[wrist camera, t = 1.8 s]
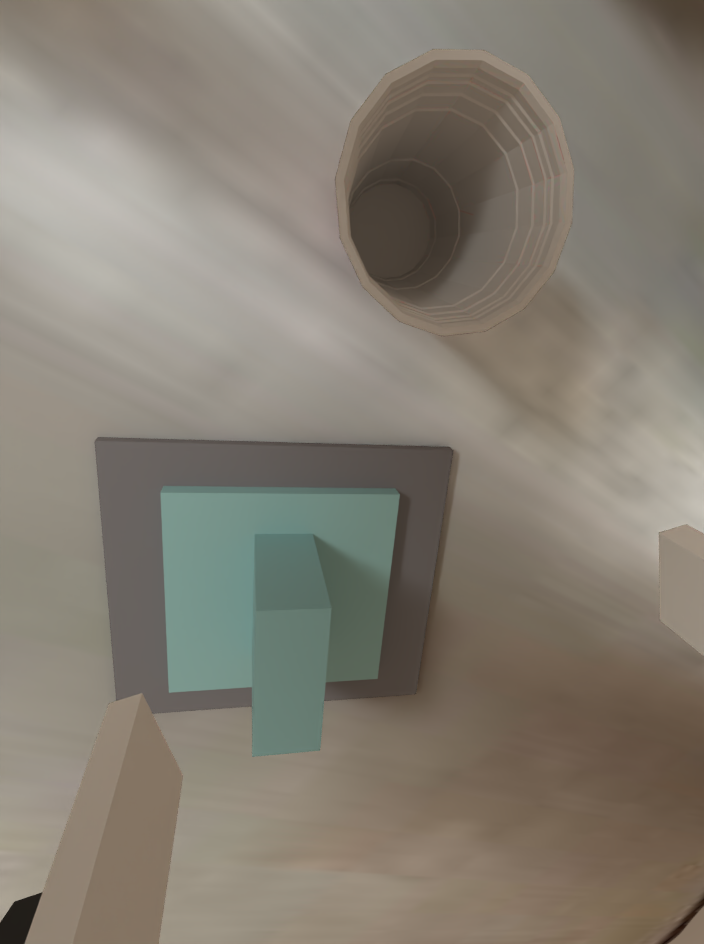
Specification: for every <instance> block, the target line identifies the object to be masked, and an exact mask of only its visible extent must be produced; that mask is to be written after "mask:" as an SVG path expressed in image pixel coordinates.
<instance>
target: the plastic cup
mask: <svg viewBox="0 0 704 944" xmlns="http://www.w3.org/2000/svg"><path fill="white" fill-rule="evenodd" d="M335 185H336V197H337V209H338V221H339V232H340V239H341V241H342V244H343V246H344V248H345V250H346V252H347V254H348V257H349V259H350V261H351V263H352V265H353V267H354V269H355V272H356V274H357V276H358V278H359V280H360V282H361V285H362V287H363V288H364V289H365V290H366V291H367V292H368V293H369V294H370V295H371V296H372V297H373V298H375V299H376V300H377V301H378V302H379V303H380V304H381V305H382V306H383V307H384V308H385V309H386V310H387V311H388V312H389V313H390V314H392V315H393V316H394V317H395V318H396V319H397V320H398V321H399V322H402V323H405V324H408V325H411V326H413V327H416V328H419V329H422V330H425V331H428V332H431V333H434V334H437V335H439V336H449V335H458V334H467V333H476V332H485V331H487V330H489V329H490V328H492V327H494V326H495V325H497V324H499V323H501V322H502V321H504V320H506V319H508V318H509V317H511V316H513V315H515V314H516V313H518V312H520V311H521V310H523V309H524V308H525V307H526V306H527V305H528V303H529V302H530V301H531V300H532V298H533V297H534V296H535V295H536V293H537V292H538V291H539V290H540V289H541V287H542V286H543V285H544V284H545V282H546V281H547V280H548V279H549V277H550V276H551V275H552V274H553V272H554V271H555V268H556V265H557V262H558V260H559V257H560V254H561V252H562V249H563V246H564V243H565V241H566V238H567V235H568V233H569V230H570V227H571V224H572V208H573V186H574V167H573V164H572V160H571V157H570V153H569V150H568V146H567V142H566V139H565V135H564V132H563V128H562V125H561V121H560V118H559V116H558V115H557V113H556V112H555V111H554V109H553V108H552V107H551V105H550V104H549V103H548V101H547V100H546V98H545V97H544V96H543V94H542V93H541V92H540V90H539V89H538V88H537V86H536V85H535V83H534V82H533V81H532V79H531V78H530V77H529V75H528V74H526V73H524V72H522V71H520V70H519V69H517V68H515V67H513V66H511V65H510V64H508V63H506V62H504V61H503V60H501V59H499V58H497V57H495V56H494V55H492V54H490V53H488V52H487V51H485V50H455V49H432V50H431V51H429V52H427V53H425V54H423V55H421V56H419V57H417V58H415V59H413V60H412V61H410V62H408V63H406V64H404V65H402V66H400V67H398V68H396V69H394V70H392V71H391V72H389V73H387V74H385V76H384V77H383V78H382V80H381V81H380V82H379V84H378V85H377V86H376V88H375V89H374V90H373V92H372V93H371V94H370V96H369V97H368V98H367V100H366V101H365V102H364V104H363V105H362V106H361V108H360V109H359V110H358V112H357V113H356V114H355V116H354V117H353V118H352V120H351V122H350V125H349V129H348V133H347V136H346V140H345V144H344V147H343V151H342V155H341V158H340V162H339V166H338V170H337V173H336V177H335Z"/></svg>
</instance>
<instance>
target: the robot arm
mask: <svg viewBox="0 0 704 944" xmlns="http://www.w3.org/2000/svg"><path fill="white" fill-rule="evenodd" d="M659 608H660V621H661V622H662V623H664V624H665V625H666V626H667V627H669V628H670V629H671V630H672V631H673V632H675V633H676V634H677V635H678V636H680V637H681V638H682V639H683V640H684V641H686V642H687V643H688V644H689V645H691V646H692V647H693V648H694V649H696V650H697V651H698V652H699V653H700V654H702V655H703V656H704V534H703V533H701V532H700V531H698V530H696V529H694V528H692V527H690V526H688V525H687V524H686V525H682V526H679V527H676V528H673V529H670V530H666V531H663V532H660V533H659ZM182 780H183V775H182V773H181V771H180V768H179V766H178V764H177V762H176V760H175V758H174V756H173V754H172V752H171V750H170V748H169V746H168V744H167V742H166V740H165V738H164V736H163V734H162V732H161V730H160V728H159V726H158V724H157V722H156V720H155V718H154V716H153V714H152V712H151V710H150V708H149V706H148V704H147V702H146V700H145V698H144V696H143V694H142V693H141V694H137V695H134V696H131V697H128V698H124V699H121V700H118V701H115V702H112V703H109V704H108V707H107V710H106V713H105V716H104V719H103V722H102V724H101V727H100V730H99V733H98V736H97V739H96V742H95V744H94V747H93V750H92V753H91V756H90V759H89V761H88V764H87V767H86V770H85V773H84V776H83V779H82V781H81V784H80V787H79V790H78V793H77V796H76V799H75V801H74V804H73V807H72V810H71V813H70V816H69V818H68V821H67V824H66V827H65V830H64V833H63V836H62V838H61V841H60V844H59V847H58V850H57V853H56V856H55V858H54V861H53V864H52V867H51V870H50V873H49V875H48V878H47V881H46V884H45V887H44V890H43V892H42V893H39V894H36V895H33V896H30V897H27V898H24V899H21V900H18V901H15V902H14V903H13V905H12V906H11V908H10V909H9V911H8V912H7V914H6V915H5V917H4V918H3V919H2V921H1V922H0V944H159V937H160V930H161V923H162V917H163V910H164V903H165V896H166V889H167V882H168V875H169V869H170V862H171V855H172V848H173V841H174V834H175V828H176V821H177V814H178V807H179V800H180V793H181V786H182Z"/></svg>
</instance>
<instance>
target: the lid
mask: <svg viewBox="0 0 704 944" xmlns="http://www.w3.org/2000/svg"><path fill="white" fill-rule="evenodd" d="M399 498H400V494H399V493H398V491H397V490H396V489H395V488H309V487H212V486H163V488H162V490H161V517H162V541H163V565H164V589H165V613H166V637H167V661H168V685H169V693H171V692H186V691H201V690H216V689H231V688H246V687H252V757H255V756H266V755H276V754H287V753H298V752H309V751H320V745H321V733H322V720H323V708H324V696H325V683H326V682H337V681H352V680H367V679H378V671H379V662H380V654H381V646H382V638H383V629H384V621H385V613H386V605H387V597H388V588H389V580H390V572H391V564H392V555H393V547H394V539H395V531H396V522H397V514H398V506H399Z"/></svg>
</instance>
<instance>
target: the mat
mask: <svg viewBox="0 0 704 944" xmlns="http://www.w3.org/2000/svg"><path fill="white" fill-rule="evenodd" d="M95 451H96V463H97V475H98V487H99V499H100V511H101V522H102V534H103V546H104V558H105V570H106V582H107V594H108V606H109V618H110V630H111V642H112V654H113V666H114V678H115V690H116V701H118V700H121V699H124V698H128V697H131V696H134V695H137V694H141V693H142V694H143V696H144V698H145V700H146V702H147V704H148V706H149V708H150V710H151V712H152V714H154V713H168V712H181V711H195V710H208V709H222V708H236V707H249V706H252V687H246V688H231V689H216V690H201V691H186V692H171V693H169V685H168V661H167V637H166V613H165V589H164V565H163V541H162V517H161V490H162V488H163V486H212V487H309V488H395V489H396V490H397V491H398V493H399V494H400V498H399V506H398V514H397V522H396V531H395V539H394V547H393V555H392V564H391V572H390V580H389V588H388V597H387V605H386V613H385V621H384V629H383V638H382V646H381V654H380V662H379V671H378V679H367V680H352V681H337V682H326V683H325V696H324V701H331V700H344V699H358V698H372V697H385V696H399V695H412V694H416V690H417V684H418V677H419V671H420V664H421V658H422V651H423V645H424V638H425V631H426V625H427V618H428V612H429V605H430V599H431V592H432V586H433V579H434V573H435V566H436V560H437V553H438V547H439V540H440V534H441V527H442V521H443V514H444V507H445V501H446V494H447V488H448V481H449V475H450V468H451V462H452V455H453V450H452V449H451V448H450V447H429V446H393V445H357V444H321V443H285V442H248V441H212V440H176V439H140V438H104V437H98V438H97V439H96V440H95Z"/></svg>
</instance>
